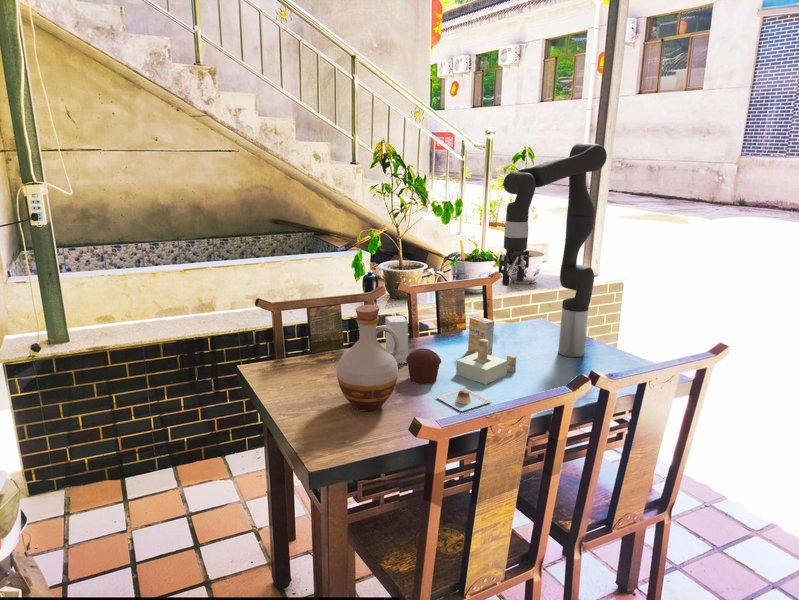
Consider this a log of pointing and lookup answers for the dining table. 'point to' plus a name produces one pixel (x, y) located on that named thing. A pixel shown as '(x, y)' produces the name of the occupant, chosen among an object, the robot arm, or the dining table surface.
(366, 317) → the jug
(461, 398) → the dessert
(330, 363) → the dining table surface
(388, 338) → the skincare box
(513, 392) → the dining table surface
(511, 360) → the short dowel
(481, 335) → the supplement box
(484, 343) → the long dowel
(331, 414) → the dining table surface
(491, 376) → the hole block
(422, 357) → the muffin
